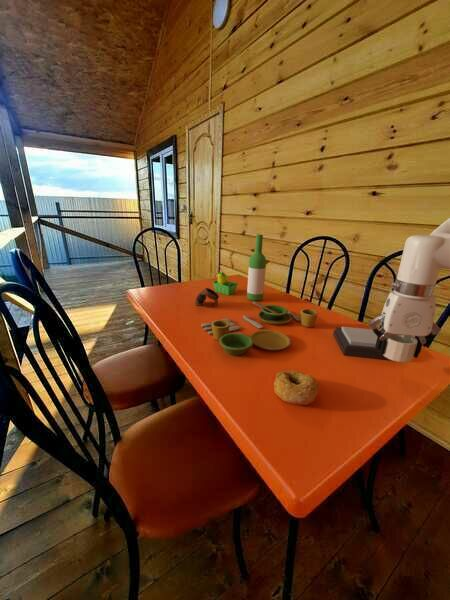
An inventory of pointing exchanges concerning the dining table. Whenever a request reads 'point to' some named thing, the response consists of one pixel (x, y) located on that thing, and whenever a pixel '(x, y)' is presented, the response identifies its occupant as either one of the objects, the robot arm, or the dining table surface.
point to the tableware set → (262, 338)
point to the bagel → (296, 387)
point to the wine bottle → (256, 272)
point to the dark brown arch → (209, 294)
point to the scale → (356, 348)
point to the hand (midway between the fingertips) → (396, 352)
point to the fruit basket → (224, 284)
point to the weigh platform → (360, 336)
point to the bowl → (400, 347)
